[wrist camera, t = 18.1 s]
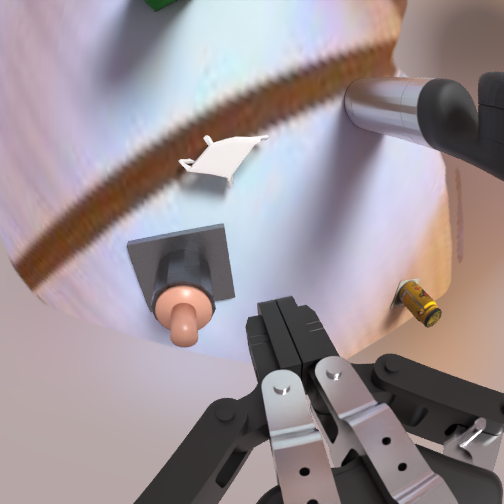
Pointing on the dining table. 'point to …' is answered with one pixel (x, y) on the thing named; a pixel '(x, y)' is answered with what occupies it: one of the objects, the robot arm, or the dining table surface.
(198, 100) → the dining table surface
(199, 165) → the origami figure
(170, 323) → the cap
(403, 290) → the condiment
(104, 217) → the dining table surface
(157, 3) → the milk carton
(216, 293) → the flanged pipe socket
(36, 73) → the dining table surface
